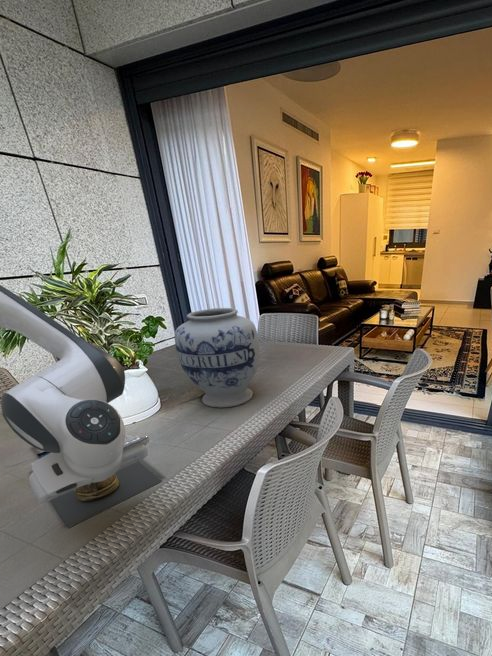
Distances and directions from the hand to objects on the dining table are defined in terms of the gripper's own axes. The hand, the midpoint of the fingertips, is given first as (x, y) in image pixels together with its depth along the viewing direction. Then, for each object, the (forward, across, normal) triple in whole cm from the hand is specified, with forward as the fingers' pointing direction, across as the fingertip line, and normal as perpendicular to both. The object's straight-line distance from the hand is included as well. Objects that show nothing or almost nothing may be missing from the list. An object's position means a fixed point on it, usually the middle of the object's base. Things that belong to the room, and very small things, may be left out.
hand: (94, 478), depth 75 cm
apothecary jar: (+24, -51, -14) cm, 58 cm away
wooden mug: (+7, 0, +2) cm, 8 cm away
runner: (+13, -2, -3) cm, 14 cm away
